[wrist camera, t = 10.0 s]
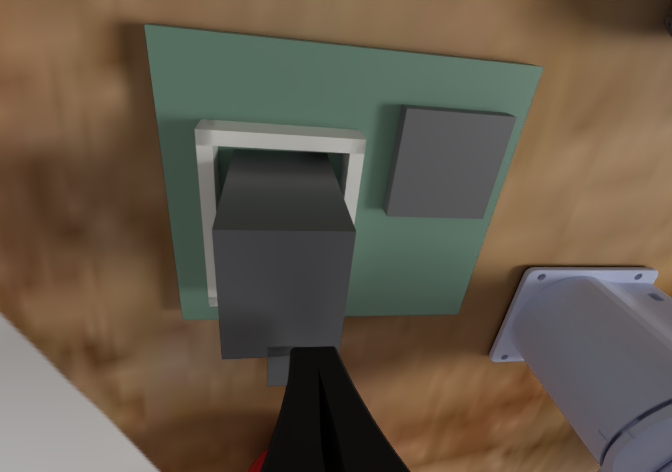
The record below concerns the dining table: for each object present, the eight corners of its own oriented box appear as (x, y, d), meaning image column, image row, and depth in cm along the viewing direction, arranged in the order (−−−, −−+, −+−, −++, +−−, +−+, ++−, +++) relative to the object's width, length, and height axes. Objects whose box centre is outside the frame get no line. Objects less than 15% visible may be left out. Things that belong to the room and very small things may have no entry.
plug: (327, 153, 17) (356, 231, 11) (316, 272, 20) (334, 382, 14) (234, 148, 16) (211, 229, 10) (239, 272, 19) (224, 388, 13)
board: (530, 64, 17) (566, 71, 15) (451, 303, 24) (468, 331, 22) (151, 23, 14) (131, 26, 12) (186, 307, 21) (176, 340, 19)
